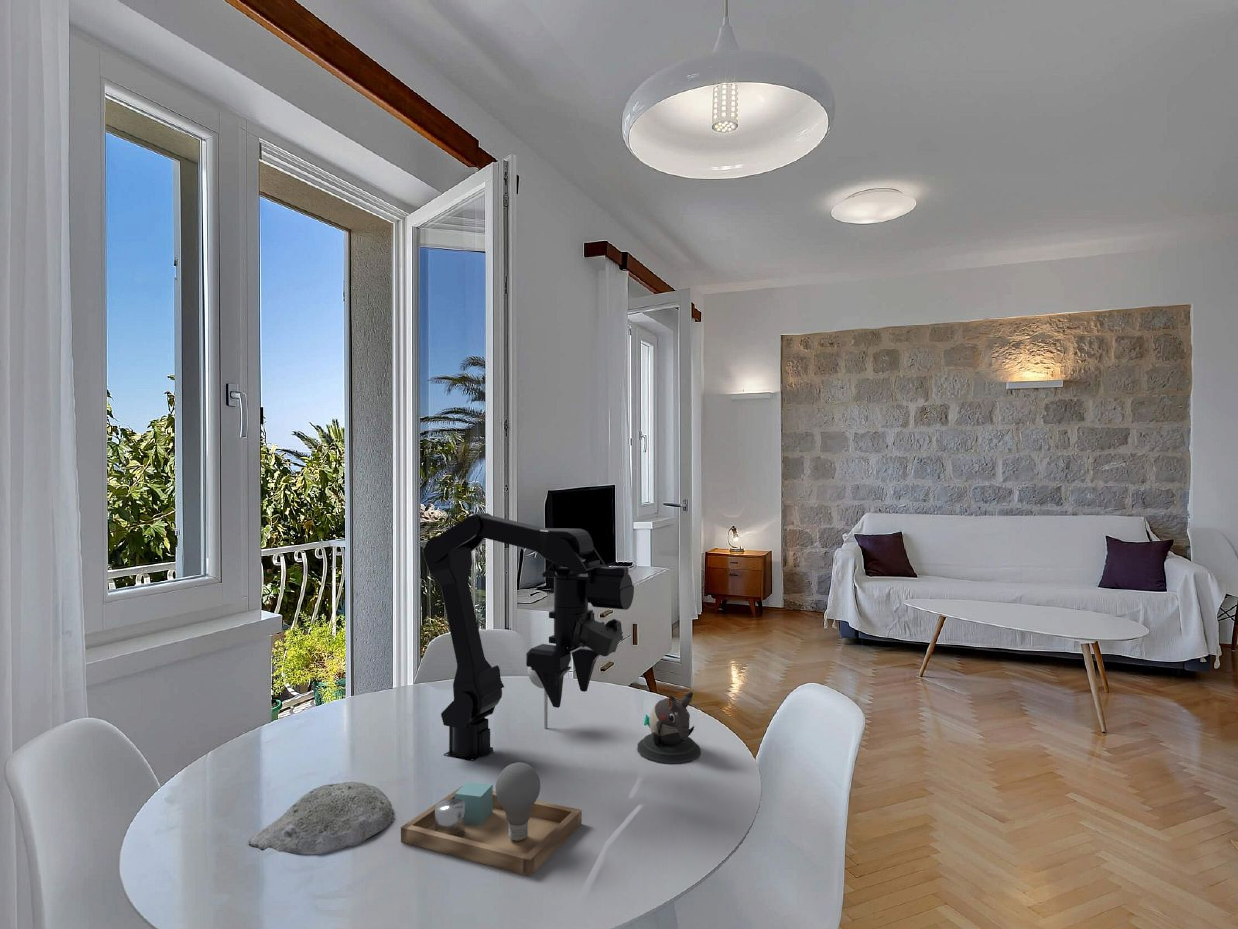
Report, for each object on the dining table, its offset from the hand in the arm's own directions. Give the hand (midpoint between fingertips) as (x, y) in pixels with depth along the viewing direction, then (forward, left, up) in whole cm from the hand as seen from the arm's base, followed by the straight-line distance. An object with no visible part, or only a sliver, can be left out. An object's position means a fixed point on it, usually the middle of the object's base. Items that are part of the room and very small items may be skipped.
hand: (570, 699), depth 116 cm
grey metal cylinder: (-5, -25, -12) cm, 28 cm away
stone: (-22, -29, -13) cm, 39 cm away
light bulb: (+4, -22, -12) cm, 26 cm away
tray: (0, -22, -12) cm, 25 cm away
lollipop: (-14, +17, -13) cm, 25 cm away
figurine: (+12, +16, -13) cm, 23 cm away
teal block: (-5, -20, -12) cm, 24 cm away
